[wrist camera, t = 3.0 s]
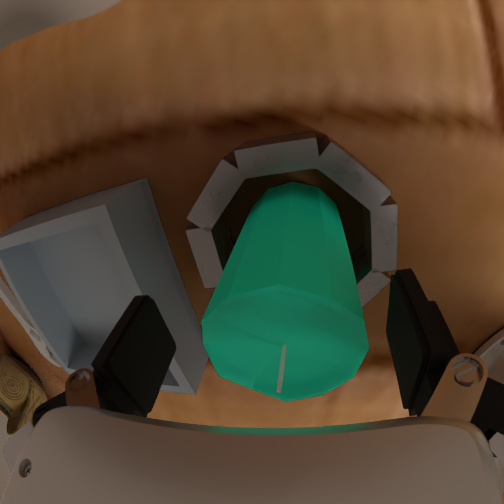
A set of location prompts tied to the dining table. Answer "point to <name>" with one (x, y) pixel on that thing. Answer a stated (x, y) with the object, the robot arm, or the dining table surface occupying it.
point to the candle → (288, 300)
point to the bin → (101, 278)
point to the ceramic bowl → (18, 393)
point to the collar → (288, 160)
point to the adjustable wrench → (25, 322)
